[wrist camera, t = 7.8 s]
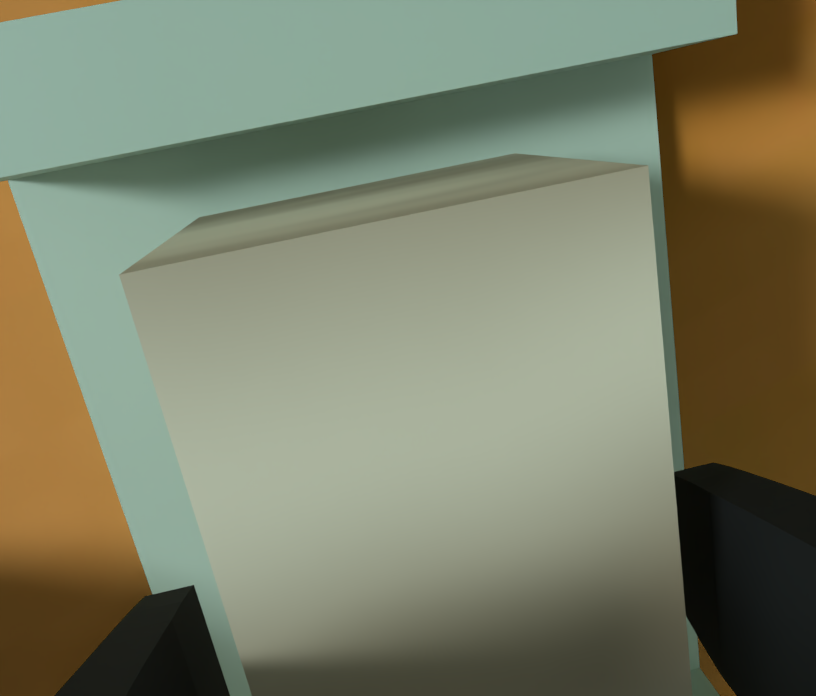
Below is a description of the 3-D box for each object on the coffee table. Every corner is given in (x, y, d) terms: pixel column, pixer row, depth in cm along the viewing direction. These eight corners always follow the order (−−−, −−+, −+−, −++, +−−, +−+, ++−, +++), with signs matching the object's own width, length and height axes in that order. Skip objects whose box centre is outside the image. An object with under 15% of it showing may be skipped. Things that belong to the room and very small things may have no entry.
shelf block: (592, 717, 13) (716, 975, 9) (353, 778, 13) (371, 1073, 9) (514, 153, 10) (647, 165, 6) (199, 217, 10) (118, 274, 6)
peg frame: (691, 720, 16) (773, 847, 13) (248, 835, 15) (233, 994, 13) (624, -77, 11) (729, -148, 8) (-24, 41, 11) (-147, 6, 8)
